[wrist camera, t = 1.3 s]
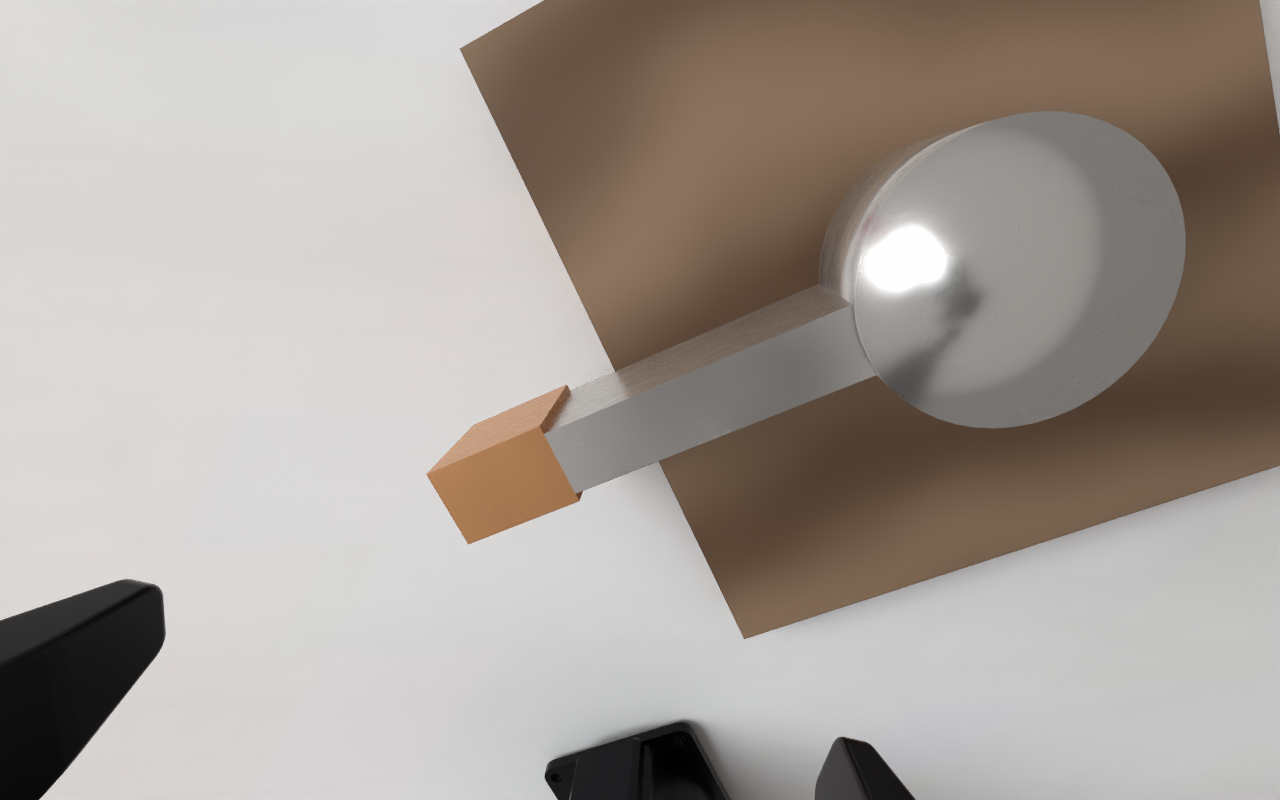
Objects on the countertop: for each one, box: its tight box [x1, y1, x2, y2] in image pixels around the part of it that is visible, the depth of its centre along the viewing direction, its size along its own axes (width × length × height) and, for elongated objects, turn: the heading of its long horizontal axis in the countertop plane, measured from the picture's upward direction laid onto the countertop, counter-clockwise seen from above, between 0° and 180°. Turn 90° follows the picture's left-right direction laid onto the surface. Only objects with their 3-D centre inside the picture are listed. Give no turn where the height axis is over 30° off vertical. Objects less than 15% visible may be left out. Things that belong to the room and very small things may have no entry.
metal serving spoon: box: [427, 111, 1186, 544], centre depth 14 cm, size 16×6×4 cm, turn 115°
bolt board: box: [460, 0, 1280, 639], centre depth 15 cm, size 20×18×6 cm
